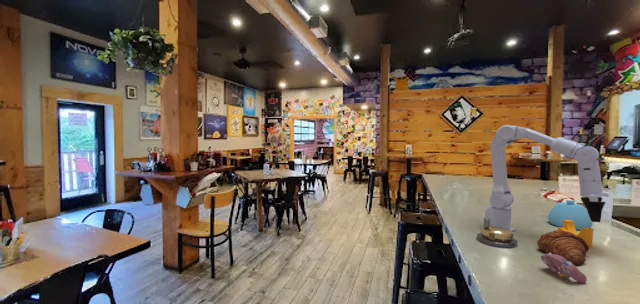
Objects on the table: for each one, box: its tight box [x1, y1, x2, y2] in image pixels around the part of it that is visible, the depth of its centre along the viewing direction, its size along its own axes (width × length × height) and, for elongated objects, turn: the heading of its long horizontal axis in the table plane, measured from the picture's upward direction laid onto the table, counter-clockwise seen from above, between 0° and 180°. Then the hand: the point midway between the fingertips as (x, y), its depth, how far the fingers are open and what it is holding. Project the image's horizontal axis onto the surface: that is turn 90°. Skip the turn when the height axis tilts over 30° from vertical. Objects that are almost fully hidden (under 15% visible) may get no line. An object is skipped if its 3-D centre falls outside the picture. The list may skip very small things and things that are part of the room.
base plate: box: [476, 232, 519, 249], centre depth 108 cm, size 13×13×1 cm
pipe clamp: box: [557, 220, 594, 248], centre depth 110 cm, size 12×4×6 cm, turn 169°
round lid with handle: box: [480, 217, 515, 242], centre depth 107 cm, size 10×10×7 cm
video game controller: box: [540, 253, 588, 284], centre depth 81 cm, size 10×5×7 cm, turn 5°
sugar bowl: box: [547, 199, 593, 231], centre depth 128 cm, size 15×15×12 cm
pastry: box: [536, 229, 590, 267], centre depth 97 cm, size 17×15×8 cm
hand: (594, 219), depth 100 cm, fingers open, 7 cm apart
